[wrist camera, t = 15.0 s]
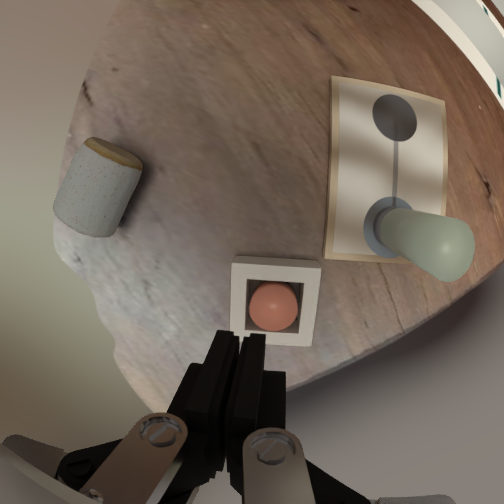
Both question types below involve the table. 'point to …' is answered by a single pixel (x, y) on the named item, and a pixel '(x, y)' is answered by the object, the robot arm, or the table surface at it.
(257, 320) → the button
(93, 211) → the ceramic mug
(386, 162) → the board
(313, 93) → the table surface
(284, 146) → the table surface
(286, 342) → the button housing
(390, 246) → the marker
